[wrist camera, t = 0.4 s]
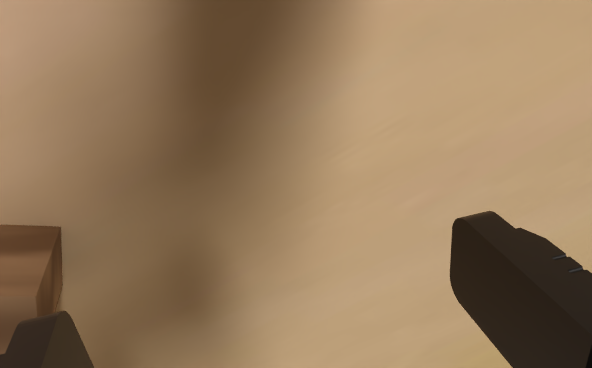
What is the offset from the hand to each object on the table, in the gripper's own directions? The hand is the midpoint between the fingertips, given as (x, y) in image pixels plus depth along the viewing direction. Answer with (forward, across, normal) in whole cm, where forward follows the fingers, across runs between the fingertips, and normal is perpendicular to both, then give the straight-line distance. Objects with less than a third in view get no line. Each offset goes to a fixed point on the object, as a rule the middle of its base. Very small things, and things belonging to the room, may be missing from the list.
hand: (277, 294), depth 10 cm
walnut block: (+19, +13, +8) cm, 24 cm away
